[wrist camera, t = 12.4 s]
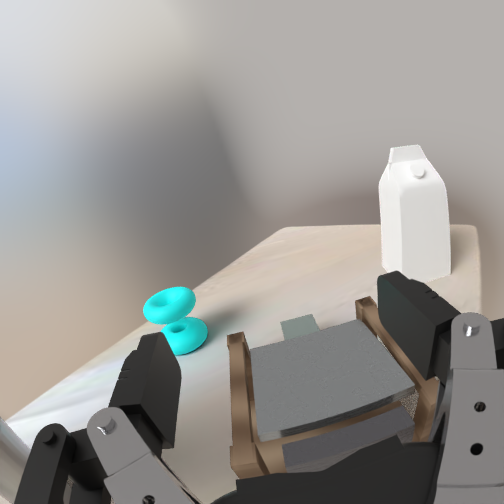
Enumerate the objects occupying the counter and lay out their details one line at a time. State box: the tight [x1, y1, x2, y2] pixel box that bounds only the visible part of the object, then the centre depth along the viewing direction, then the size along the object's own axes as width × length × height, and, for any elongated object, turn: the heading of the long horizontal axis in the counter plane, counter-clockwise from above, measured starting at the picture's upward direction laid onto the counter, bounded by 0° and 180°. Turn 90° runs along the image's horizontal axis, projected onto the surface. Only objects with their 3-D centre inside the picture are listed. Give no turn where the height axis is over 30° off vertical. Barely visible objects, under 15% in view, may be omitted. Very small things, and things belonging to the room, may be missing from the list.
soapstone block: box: [281, 314, 320, 340], centre depth 40 cm, size 5×5×12 cm
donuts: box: [143, 287, 208, 355], centre depth 53 cm, size 10×10×10 cm
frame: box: [227, 296, 439, 479], centre depth 28 cm, size 18×18×11 cm
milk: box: [379, 145, 451, 283], centre depth 53 cm, size 12×12×26 cm
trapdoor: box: [250, 319, 415, 473], centre depth 25 cm, size 17×13×3 cm
